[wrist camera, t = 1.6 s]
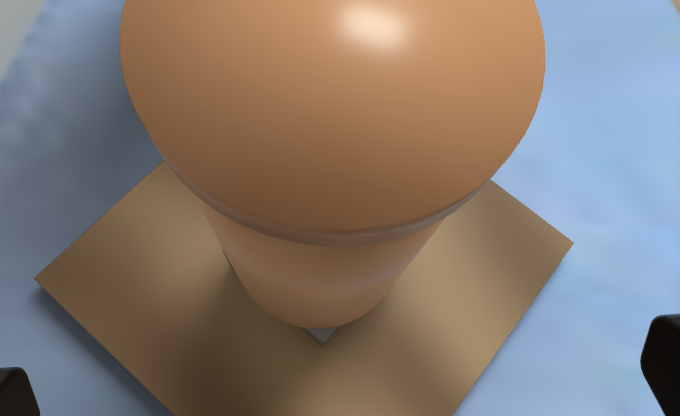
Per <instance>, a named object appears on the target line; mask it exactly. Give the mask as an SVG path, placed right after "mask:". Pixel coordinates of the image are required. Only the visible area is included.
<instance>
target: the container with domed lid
mask: <svg viewBox="0 0 680 416" xmlns="http://www.w3.org/2000/svg"><path fill="white" fill-rule="evenodd" d="M120 60H121V65H122V71H123V76H124V81H125V84H126V87H127V90H128V93H129V96H130V98H131V101H132V104H133V106H134V108H135V110H136V112H137V114H138V116H139V118H140V119H141V121H142V123H143V125H144V127H145V129H146V130H147V132H148V134H149V135H150V137H151V139H152V141H153V142H154V144H155V146H156V147H157V149H158V151H159V153H160V154H161V156H162V158H163V159H164V160H165V162H166V163H167V164H168V166H169V167H170V168H171V169H172V171H173V172H174V173H175V175H176V176H177V177H178V178H179V179H180V180H181V181H182V182H183V183H184V184H185V185H186V186H187V187H188V188H189V189H190V190H191V191H192V192H193V193H194V195H195V197H196V199H197V201H198V203H199V204H200V206H201V208H202V210H203V212H204V214H205V216H206V218H207V219H208V221H209V223H210V225H211V227H212V229H213V231H214V233H215V234H216V236H217V238H218V240H219V242H220V244H221V246H222V248H223V249H224V251H225V253H226V255H227V257H228V259H229V261H230V263H231V264H232V266H233V268H234V270H235V272H236V274H237V276H238V278H239V280H240V281H241V283H242V285H243V287H244V289H245V290H246V292H247V293H248V294H249V296H250V297H251V299H252V300H253V301H254V302H255V303H256V304H257V305H258V306H259V307H260V308H262V309H263V310H264V311H265V312H267V313H268V314H269V315H271V316H273V317H275V318H276V319H278V320H280V321H283V322H285V323H287V324H290V325H294V326H298V327H302V328H311V329H325V328H331V327H337V326H340V325H344V324H347V323H349V322H352V321H354V320H356V319H358V318H360V317H361V316H363V315H365V314H366V313H368V312H369V311H370V310H371V309H372V308H374V307H375V306H376V305H377V304H378V303H379V302H380V301H381V300H382V299H383V297H384V296H385V295H386V294H387V292H388V291H389V290H390V288H391V287H392V286H393V285H394V283H395V282H396V281H397V280H398V278H399V277H400V276H401V274H402V273H403V272H404V271H405V269H406V268H407V267H408V266H409V264H410V263H411V262H412V260H413V259H414V258H415V257H416V255H417V254H418V253H419V252H420V250H421V249H422V248H423V246H424V245H425V244H426V243H427V241H428V240H429V239H430V238H431V236H432V235H433V234H434V233H435V231H436V230H437V229H438V227H439V226H440V225H441V224H442V222H443V221H444V220H445V219H446V217H447V216H448V215H450V214H452V213H454V212H455V211H456V210H457V209H459V208H460V207H461V206H462V205H464V204H465V203H466V202H468V201H469V200H470V199H471V198H473V197H474V196H475V195H476V194H477V193H478V191H479V190H480V189H481V188H482V187H483V186H484V185H485V184H486V183H487V182H488V181H489V180H490V179H491V178H492V176H493V175H494V174H495V173H496V172H497V170H498V169H499V168H500V167H501V166H502V165H503V163H504V162H505V161H506V160H507V159H508V157H509V156H510V155H511V154H512V152H513V151H514V149H515V148H516V146H517V145H518V144H519V142H520V141H521V139H522V138H523V136H524V135H525V133H526V131H527V129H528V127H529V125H530V123H531V121H532V119H533V117H534V114H535V112H536V109H537V106H538V102H539V99H540V96H541V92H542V89H543V81H544V73H545V42H544V36H543V30H542V25H541V20H540V17H539V14H538V11H537V8H536V5H535V2H534V0H126V1H125V4H124V8H123V12H122V19H121V26H120Z"/></svg>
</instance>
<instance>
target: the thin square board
mask: <svg viewBox="0 0 680 416" xmlns="http://www.w3.org/2000/svg"><path fill="white" fill-rule="evenodd" d="M573 244H574V242H572V241H571V240H570V239H568V238H567V237H566V236H564V235H563V234H562V233H560V232H559V231H558V230H556V229H555V228H554V227H552V226H551V225H550V224H548V223H547V222H546V221H545V220H543V219H542V218H541V217H539V216H538V215H537V214H535V213H534V212H533V211H531V210H530V209H529V208H527V207H526V206H525V205H523V204H522V203H521V202H519V201H518V200H517V199H515V198H514V197H513V196H512V195H510V194H509V193H508V192H506V191H505V190H504V189H502V188H501V187H500V186H498V185H497V184H496V183H494V182H493V181H492V180H489V181H488V182H487V183H486V184H485V185H484V186H483V187H482V188H481V189H480V190H479V191H478V193H477V194H476V195H475V196H474V197H473V198H471V199H470V200H469V201H468V202H466V203H465V204H464V205H462V206H461V207H460V208H459V209H457V210H456V211H455V212H454V213H452V214H450V215H448V216H447V217H446V219H445V220H444V221H443V222H442V224H441V225H440V226H439V227H438V229H437V230H436V231H435V233H434V234H433V235H432V236H431V238H430V239H429V240H428V241H427V243H426V244H425V245H424V246H423V248H422V249H421V250H420V252H419V253H418V254H417V255H416V257H415V258H414V259H413V260H412V262H411V263H410V264H409V266H408V267H407V268H406V269H405V271H404V272H403V273H402V274H401V276H400V277H399V278H398V280H397V281H396V282H395V283H394V285H393V286H392V287H391V288H390V290H389V291H388V292H387V294H386V295H385V296H384V297H383V299H382V300H381V301H380V302H379V303H378V304H377V305H376V306H375V307H374V308H372V309H371V310H370V311H369V312H368V313H366V314H365V315H363V316H361V317H360V318H358V319H356V320H354V321H352V322H349V323H347V324H344V325H340V326H337V327H331V328H325V329H311V328H302V327H298V326H294V325H290V324H287V323H285V322H283V321H280V320H278V319H276V318H275V317H273V316H271V315H269V314H268V313H267V312H265V311H264V310H263V309H262V308H260V307H259V306H258V305H257V304H256V303H255V302H254V301H253V300H252V299H251V297H250V296H249V294H248V293H247V292H246V290H245V289H244V287H243V285H242V283H241V281H240V280H239V278H238V276H237V274H236V272H235V270H234V268H233V266H232V264H231V263H230V261H229V259H228V257H227V255H226V253H225V251H224V249H223V248H222V246H221V244H220V242H219V240H218V238H217V236H216V234H215V233H214V231H213V229H212V227H211V225H210V223H209V221H208V219H207V218H206V216H205V214H204V212H203V210H202V208H201V206H200V204H199V203H198V201H197V199H196V197H195V195H194V193H193V192H192V191H191V190H190V189H189V188H188V187H187V186H186V185H185V184H184V183H183V182H182V181H181V180H180V179H179V178H178V177H177V176H176V175H175V173H174V172H173V171H172V169H171V168H170V167H169V166H168V164H167V163H166V162H165V160H163V161H162V162H161V163H160V164H159V165H158V166H157V167H156V168H154V169H153V170H152V171H151V172H150V173H149V174H148V175H147V176H146V177H145V178H143V179H142V180H141V181H140V182H139V183H138V184H137V185H136V186H135V187H134V188H133V189H131V190H130V191H129V192H128V193H127V194H126V195H125V196H124V197H123V198H122V199H121V200H119V201H118V202H117V203H116V204H115V205H114V206H113V207H112V208H111V209H110V210H108V211H107V212H106V213H105V214H104V215H103V216H102V217H101V218H100V219H99V220H98V221H96V222H95V223H94V224H93V225H92V226H91V227H90V228H89V229H88V230H87V231H85V232H84V233H83V234H82V235H81V236H80V237H79V238H78V239H77V240H76V241H75V242H73V243H72V244H71V245H70V246H69V247H68V248H67V249H66V250H65V251H64V252H62V253H61V254H60V255H59V256H58V257H57V258H56V259H55V260H54V261H53V262H52V263H50V264H49V265H48V266H47V267H46V268H45V269H44V270H43V271H42V272H41V273H39V274H38V275H37V276H36V277H35V278H34V279H35V280H36V281H37V282H38V283H39V284H40V285H41V286H42V287H43V288H44V289H45V290H46V291H47V292H48V293H49V294H50V295H51V296H52V297H53V298H54V299H55V300H56V301H57V302H58V303H59V304H60V305H61V306H62V307H63V308H64V309H65V310H66V311H67V312H68V313H69V314H71V315H72V316H73V317H74V318H75V319H76V320H77V321H78V322H79V323H80V324H81V325H82V326H83V327H84V328H85V329H86V330H87V331H88V332H89V333H90V334H91V335H92V336H93V337H94V338H95V339H96V340H97V341H98V342H99V343H100V344H101V345H102V346H103V347H104V348H105V349H106V350H107V351H109V352H110V353H111V354H112V355H113V356H114V357H115V358H116V359H117V360H118V361H119V362H120V363H121V364H122V365H123V366H124V367H125V368H126V369H127V370H128V371H129V372H130V373H131V374H132V375H133V376H134V377H135V378H136V379H137V380H138V381H139V382H140V383H141V384H142V385H143V386H144V387H145V388H147V389H148V390H149V391H150V392H151V393H152V394H153V395H154V396H155V397H156V398H157V399H158V400H159V401H160V402H161V403H162V404H163V405H164V406H165V407H166V408H167V409H168V410H169V411H170V412H171V413H172V414H173V415H174V416H452V415H453V413H454V412H455V410H456V409H457V408H458V406H459V405H460V403H461V402H462V401H463V399H464V398H465V396H466V395H467V393H468V392H469V391H470V389H471V388H472V386H473V385H474V384H475V382H476V381H477V379H478V378H479V377H480V375H481V374H482V372H483V371H484V369H485V368H486V367H487V365H488V364H489V362H490V361H491V360H492V358H493V357H494V355H495V354H496V352H497V351H498V350H499V348H500V347H501V345H502V344H503V343H504V341H505V340H506V338H507V337H508V335H509V334H510V333H511V331H512V330H513V328H514V327H515V326H516V324H517V323H518V321H519V320H520V319H521V317H522V316H523V314H524V313H525V311H526V310H527V309H528V307H529V306H530V304H531V303H532V302H533V300H534V299H535V297H536V296H537V294H538V293H539V292H540V290H541V289H542V287H543V286H544V285H545V283H546V282H547V280H548V279H549V278H550V276H551V275H552V273H553V272H554V270H555V269H556V268H557V266H558V265H559V263H560V262H561V261H562V259H563V258H564V256H565V255H566V253H567V252H568V251H569V249H570V248H571V246H572V245H573Z"/></svg>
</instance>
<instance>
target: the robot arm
mask: <svg viewBox="0 0 680 416" xmlns="http://www.w3.org/2000/svg"><path fill="white" fill-rule="evenodd" d="M640 363H641V369H642V372H643V375H644V377H645V379H646V381H647V383H648V384H649V386H650V388H651V390H652V392H653V394H654V396H655V398H656V399H657V401H658V403H659V405H660V407H661V409H662V411H663V413H664V414H665V416H680V314H669V315H660V316H657V317H655V318H654V320H653V321H652V322H651V325H650V328H649V331H648V334H647V338H646V341H645V344H644V348H643V351H642V354H641V360H640ZM0 416H40V410H39V407H38V404H37V401H36V399H35V396H34V393H33V390H32V387H31V385H30V382H29V379H28V376H27V374H26V372H25V371H24V370H23V369H22V368H19V367H8V368H0Z"/></svg>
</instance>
